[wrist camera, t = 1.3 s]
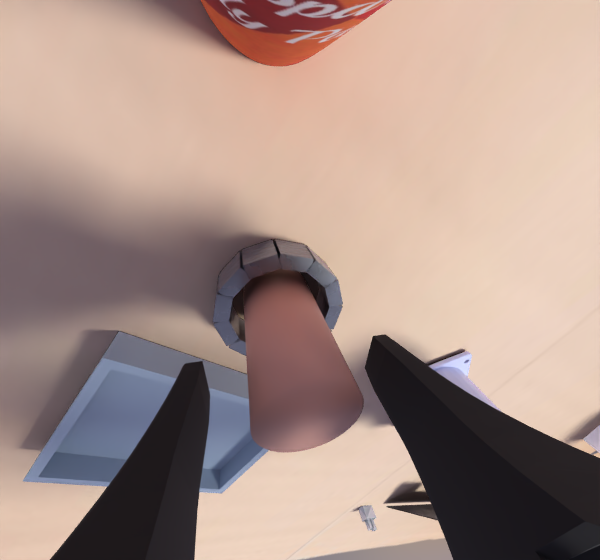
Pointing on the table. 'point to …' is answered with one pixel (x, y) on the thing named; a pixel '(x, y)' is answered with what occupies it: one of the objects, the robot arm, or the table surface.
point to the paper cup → (286, 25)
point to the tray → (144, 418)
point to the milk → (594, 438)
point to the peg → (294, 367)
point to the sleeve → (265, 261)
